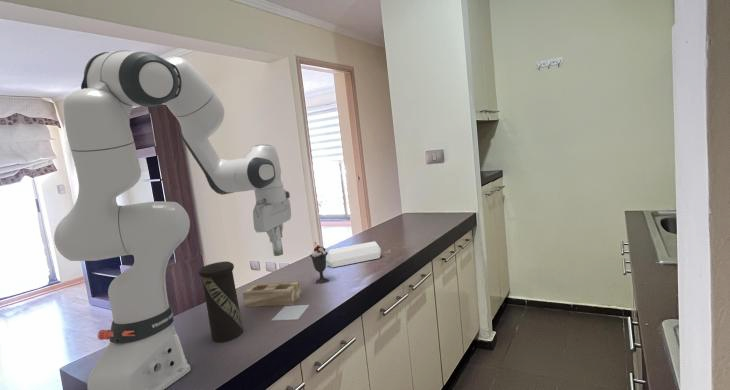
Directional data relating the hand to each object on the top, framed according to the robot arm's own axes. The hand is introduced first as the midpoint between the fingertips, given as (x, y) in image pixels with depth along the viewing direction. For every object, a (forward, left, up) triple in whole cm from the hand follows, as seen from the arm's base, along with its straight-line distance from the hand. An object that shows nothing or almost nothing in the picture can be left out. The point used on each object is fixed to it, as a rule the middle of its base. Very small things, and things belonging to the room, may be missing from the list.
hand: (276, 240), depth 123 cm
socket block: (0, +4, -20) cm, 21 cm away
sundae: (+18, -7, -21) cm, 28 cm away
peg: (0, 0, -5) cm, 5 cm away
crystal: (+41, -14, -21) cm, 48 cm away
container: (-23, +7, -21) cm, 32 cm away
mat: (-10, -6, -20) cm, 23 cm away
